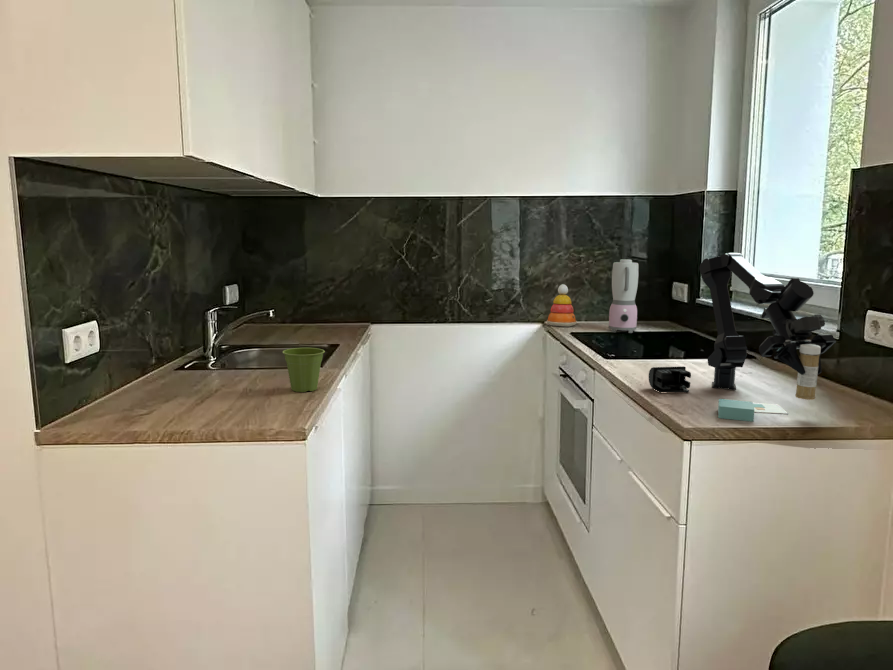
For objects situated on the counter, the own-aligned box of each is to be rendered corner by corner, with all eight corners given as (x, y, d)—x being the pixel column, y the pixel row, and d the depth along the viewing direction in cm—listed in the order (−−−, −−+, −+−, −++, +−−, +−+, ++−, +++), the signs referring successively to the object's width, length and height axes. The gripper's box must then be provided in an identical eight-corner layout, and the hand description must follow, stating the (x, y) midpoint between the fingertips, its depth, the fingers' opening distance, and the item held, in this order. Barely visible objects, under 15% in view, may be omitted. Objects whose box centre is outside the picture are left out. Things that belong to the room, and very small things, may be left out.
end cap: (678, 386, 202) (680, 364, 201) (691, 392, 195) (692, 369, 194) (647, 387, 200) (648, 365, 199) (658, 393, 193) (660, 370, 192)
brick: (717, 409, 176) (718, 398, 176) (751, 413, 174) (752, 401, 173) (718, 418, 169) (719, 406, 169) (753, 421, 166) (754, 409, 166)
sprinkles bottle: (798, 394, 173) (803, 342, 171) (817, 398, 170) (823, 345, 167) (792, 398, 170) (797, 345, 167) (812, 401, 166) (818, 347, 164)
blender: (607, 328, 313) (610, 258, 308) (634, 329, 311) (638, 259, 306) (609, 333, 297) (613, 260, 292) (638, 334, 295) (642, 261, 290)
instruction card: (730, 402, 184) (730, 401, 184) (777, 405, 182) (777, 403, 182) (738, 411, 175) (738, 410, 175) (788, 414, 173) (788, 413, 173)
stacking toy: (573, 328, 312) (575, 286, 309) (543, 326, 317) (544, 285, 314) (579, 324, 325) (580, 283, 322) (549, 322, 330) (551, 282, 327)
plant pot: (325, 393, 190) (324, 354, 188) (282, 395, 188) (280, 355, 186) (325, 384, 201) (325, 346, 199) (284, 385, 199) (283, 347, 197)
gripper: (770, 304, 167) (798, 356, 159) (834, 302, 172) (865, 354, 163) (747, 330, 176) (772, 381, 168) (808, 328, 180) (835, 378, 172)
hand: (811, 373), depth 167 cm, fingers closed on sprinkles bottle, 4 cm apart
